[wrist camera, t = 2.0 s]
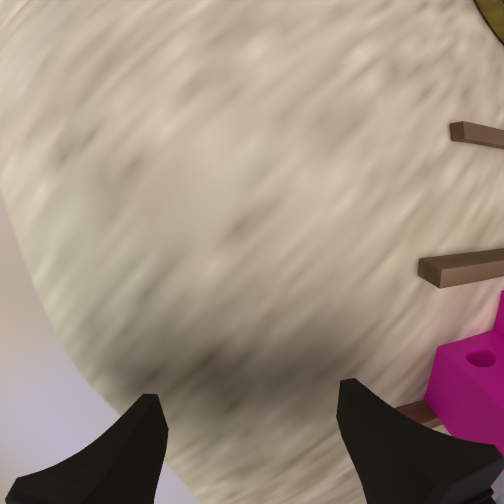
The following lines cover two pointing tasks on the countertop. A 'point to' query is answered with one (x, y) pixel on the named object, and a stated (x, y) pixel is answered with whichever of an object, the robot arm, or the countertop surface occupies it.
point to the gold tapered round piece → (493, 15)
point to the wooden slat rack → (459, 258)
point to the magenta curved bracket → (471, 386)
